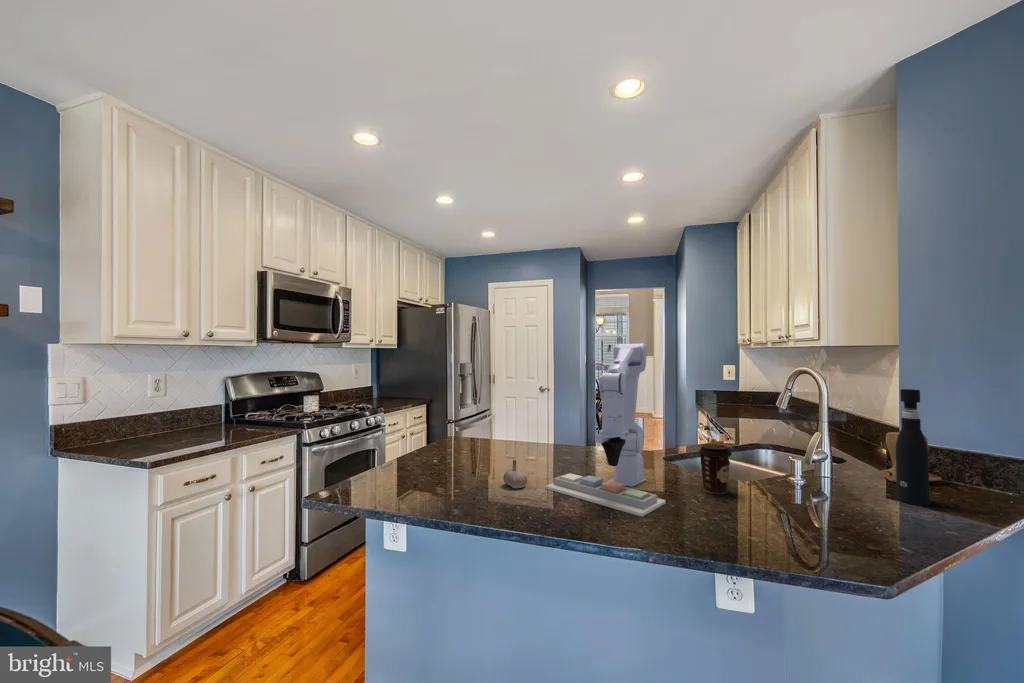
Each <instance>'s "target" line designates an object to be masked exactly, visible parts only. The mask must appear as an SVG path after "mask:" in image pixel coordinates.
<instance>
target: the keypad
mask: <svg viewBox="0 0 1024 683" xmlns="http://www.w3.org/2000/svg"><path fill="white" fill-rule="evenodd" d="M567 474H570V473H566V474H563V475H560V476H556V477H554V478H553V482H552V483H550V484H546V485H545V488H544V489H546V490H549V491H553V492H556V493H560V494H563V495H567V496H570V497H574V498H577V499H580V500H583V501H587V502H589V503H594V504H597V505H600V506H604V507H608V508H611V509H615V510H618V511H620V512H625V513H627V514H631V515H635V516H638V517H642V518H643V517H645V516H646V515H648V514H650V513H651V512H653V511H655V510H656V509H659V508H660V507H662V506H664V505H665V504H667V503H666V499H663V498H660V497H658V495H657V494H655V493H650V492H648V493H649V497H647V498H645V499H643V500H639V499H635V498H632V497H628V496H624V493H625V492H627V491H629V490H631V489H632V487H631V488H630V487H627V486H625V491H623V492H621V493H618V494H616V493H613V492H609V491H605V490H601V486H599V487H597V488H593V487H590V486H586V485H582V484H580V481H578V482H575V483H574V482H571V481H567V480H563V479H561V477H562V476H565V475H567ZM584 477H585V476H583V478H584ZM605 482H606V481H603V483H605Z"/></svg>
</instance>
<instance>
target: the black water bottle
mask: <svg viewBox="0 0 1024 683" xmlns="http://www.w3.org/2000/svg"><path fill="white" fill-rule="evenodd" d="M899 393H900V402H903V404H904V405H903V410H902V415H901V416H902V417H901V419H900V420H901V421H900V422H901V427H900V430H899V431H898V432H899V435H898V437H897V441H896V482H895V483H896V499H897V501H899V502H901V503H905V504H909V505H912V506H913V505H914V506H920V507H921V506H922V507H924V506H926V507H927V506H930V500H931V498H930V481H929V473H930V471H929V470H930V469H929V468H930V466H929V465H930V464H929V462H930V461H929V453H928V447H929V446H928V447H927V443H926V440H925V437H924V436H925V435H924V433H923V431H922V429H921V427H922V426H921V425H922V424H921V422H922V420H921V418H920V416H919V415H920V413H919V411H918V403H921V390H920V389H913V388H911V389H910V388H908V389H907V388H900V391H899Z"/></svg>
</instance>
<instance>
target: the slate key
mask: <svg viewBox="0 0 1024 683" xmlns="http://www.w3.org/2000/svg"><path fill="white" fill-rule="evenodd" d="M583 477H584V478H581V479H580V484H582V485H586V486H590V487H593V488H597V487H599V486H601V484H602V483H603V482H604V478H602V477H598V476H594V475H588V476H583Z"/></svg>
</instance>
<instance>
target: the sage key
mask: <svg viewBox="0 0 1024 683" xmlns="http://www.w3.org/2000/svg"><path fill="white" fill-rule="evenodd" d="M649 493H650V492H647V491H644V490H639V489H634V488H631V490H629V491H627V492H625V493H624V496H628V497H632V498H635V499H639V500H643V499H645V498H647V497H649Z"/></svg>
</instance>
